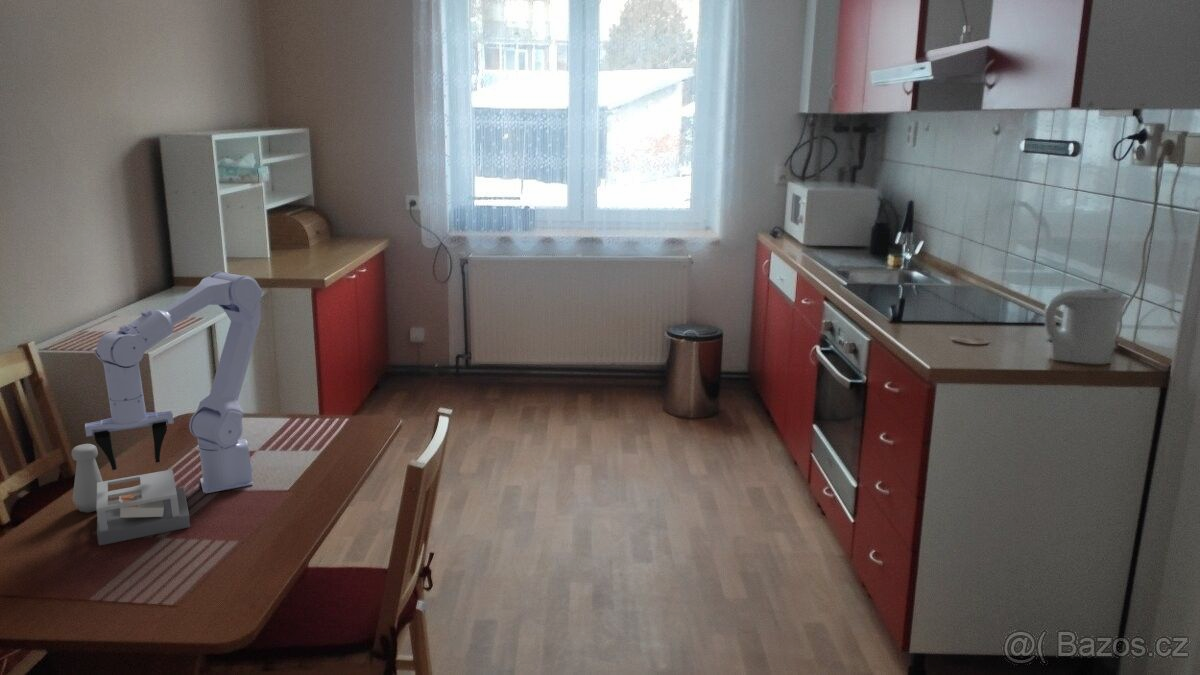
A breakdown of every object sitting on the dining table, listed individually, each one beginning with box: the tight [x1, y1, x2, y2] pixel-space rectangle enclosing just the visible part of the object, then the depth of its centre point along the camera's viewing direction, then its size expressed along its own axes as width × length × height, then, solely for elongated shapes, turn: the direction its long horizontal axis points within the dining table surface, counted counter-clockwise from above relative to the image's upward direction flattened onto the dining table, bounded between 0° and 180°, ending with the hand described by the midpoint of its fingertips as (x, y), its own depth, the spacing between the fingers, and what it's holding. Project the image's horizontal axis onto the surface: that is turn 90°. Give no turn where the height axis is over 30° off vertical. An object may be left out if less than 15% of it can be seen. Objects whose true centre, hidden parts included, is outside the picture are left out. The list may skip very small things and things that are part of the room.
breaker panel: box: [96, 469, 191, 546], centre depth 166 cm, size 15×14×7 cm
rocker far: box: [118, 483, 142, 502], centre depth 169 cm, size 7×5×2 cm
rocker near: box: [120, 498, 164, 518], centre depth 163 cm, size 7×5×2 cm
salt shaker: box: [71, 443, 104, 513], centre depth 171 cm, size 6×6×13 cm
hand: (136, 464), depth 167 cm, fingers open, 7 cm apart
